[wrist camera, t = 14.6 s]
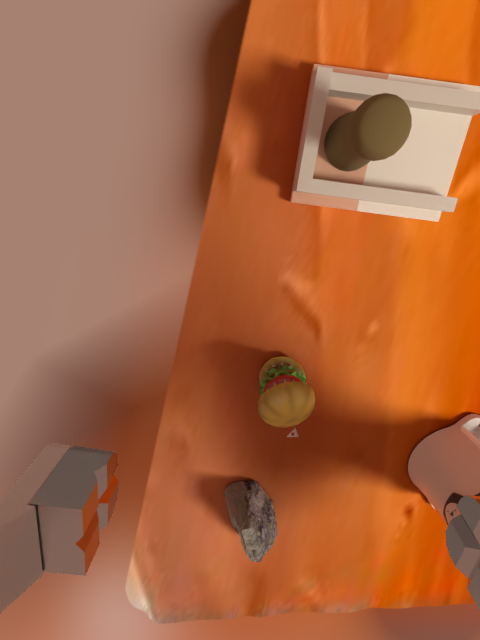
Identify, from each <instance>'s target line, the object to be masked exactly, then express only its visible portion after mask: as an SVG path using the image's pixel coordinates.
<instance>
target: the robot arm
mask: <svg viewBox="0 0 480 640" xmlns="http://www.w3.org/2000/svg"><path fill="white" fill-rule="evenodd" d="M117 466H118V454H117V453H116V452H112V451H106V450H99V449H92V448H85V447H78V446H68V445H62V444H55V443H51V444H49V445H47V446H46V447H45V448H44V449H43V450H42V451H41V453H40V454H39V455H38V456H37V457H36V459H35V460H34V461H33V462H32V464H31V465H30V466H29V467H28V468H27V470H26V471H25V472H24V473H23V474H22V476H21V477H20V478H19V479H18V480H17V482H16V483H15V484H14V485H13V487H12V488H11V489H10V490H9V492H8V493H7V494H6V495H5V497H4V498H3V499H2V500H1V501H0V613H1V612H2V611H3V610H4V609H6V608H7V607H8V606H9V605H10V604H11V603H12V602H13V601H14V600H16V599H17V598H18V597H19V596H20V595H21V594H22V593H23V592H24V591H25V590H27V589H28V588H29V587H30V586H31V585H32V584H33V583H34V582H36V580H38V579H39V578H40V577H41V576H42V575H43V572H51V573H63V574H74V575H86V573H87V571H88V568H89V566H90V564H91V562H92V559H93V557H94V555H95V553H96V550H97V548H98V546H99V531H100V530H101V529H103V528H104V527H105V526H106V525H108V523H109V521H110V518H111V516H112V513H113V510H114V506H115V503H116V500H117V493H118V479H117V478H116V477H115V475H114V473H115V471H116V469H117ZM408 473H409V476H410V479H411V481H412V482H413V483H414V485H415V486H416V487H417V488H418V489H419V490H420V491H421V492H422V493H423V494H424V495H425V496H426V498H427V500H428V502H429V503H430V505H431V506H432V507H433V508H434V509H436V510H437V512H438V513H439V514H440V516H441V517H442V519H443V520H444V521H445V523H446V524H447V525H448V527H447V530H446V545H447V548H448V551H449V555H450V557H451V559H452V561H453V562H454V564H455V566H456V567H457V568H458V569H459V570H460V571H461V572H462V573H463V574H464V575H465V576H467V577H468V586H467V588H468V590H469V592H470V594H471V596H472V598H473V599H474V601H475V603H476V605H477V606H478V609H479V610H480V415H478V414H469V415H467V416H465V417H463V418H462V419H461V420H459V421H458V422H457V423H455V424H454V425H452V426H449V427H447V428H444V429H441V430H439V431H436V432H434V433H432V434H431V435H429V436H427V437H426V438H425V439H423V440H422V441H421V442H420V443H419V444H418V445H417V446H416V448H415V449H414V450H413V452H412V454H411V456H410V459H409V462H408Z"/></svg>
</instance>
